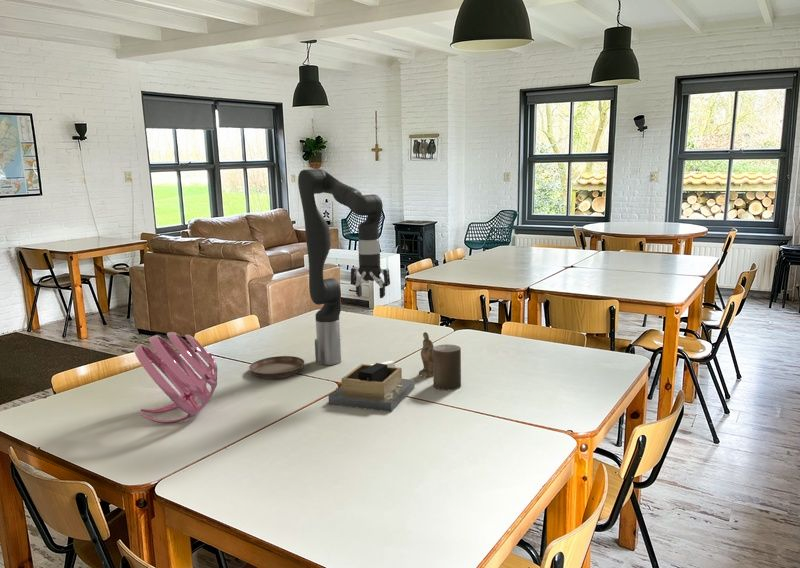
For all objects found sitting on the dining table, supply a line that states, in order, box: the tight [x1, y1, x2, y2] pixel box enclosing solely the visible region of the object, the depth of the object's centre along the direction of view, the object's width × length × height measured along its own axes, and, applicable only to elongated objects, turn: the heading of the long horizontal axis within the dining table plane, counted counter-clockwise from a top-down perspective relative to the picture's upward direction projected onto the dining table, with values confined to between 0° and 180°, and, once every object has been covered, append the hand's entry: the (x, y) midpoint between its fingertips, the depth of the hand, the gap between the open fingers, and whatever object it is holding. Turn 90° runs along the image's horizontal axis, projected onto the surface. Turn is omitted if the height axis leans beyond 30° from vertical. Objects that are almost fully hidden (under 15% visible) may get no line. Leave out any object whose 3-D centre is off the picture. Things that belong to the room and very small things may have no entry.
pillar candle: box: [432, 343, 462, 391], centre depth 219 cm, size 10×10×15 cm
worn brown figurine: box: [418, 331, 435, 378], centre depth 233 cm, size 12×6×18 cm, turn 131°
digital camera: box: [358, 362, 388, 382], centre depth 211 cm, size 10×5×7 cm, turn 152°
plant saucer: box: [248, 355, 305, 380], centre depth 240 cm, size 21×21×3 cm
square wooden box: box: [327, 363, 416, 413], centre depth 212 cm, size 22×22×8 cm
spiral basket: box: [133, 331, 218, 424], centre depth 198 cm, size 28×28×27 cm
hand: (370, 297), depth 225 cm, fingers open, 8 cm apart
